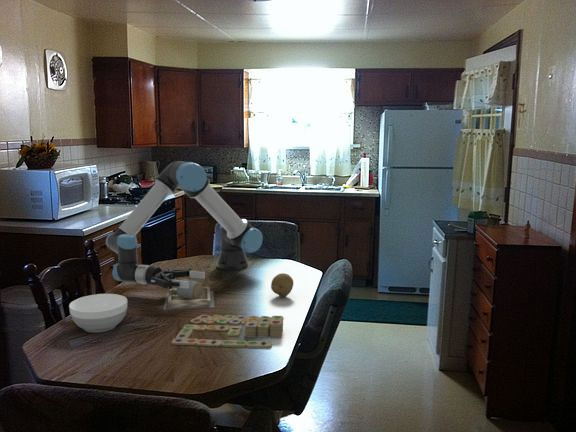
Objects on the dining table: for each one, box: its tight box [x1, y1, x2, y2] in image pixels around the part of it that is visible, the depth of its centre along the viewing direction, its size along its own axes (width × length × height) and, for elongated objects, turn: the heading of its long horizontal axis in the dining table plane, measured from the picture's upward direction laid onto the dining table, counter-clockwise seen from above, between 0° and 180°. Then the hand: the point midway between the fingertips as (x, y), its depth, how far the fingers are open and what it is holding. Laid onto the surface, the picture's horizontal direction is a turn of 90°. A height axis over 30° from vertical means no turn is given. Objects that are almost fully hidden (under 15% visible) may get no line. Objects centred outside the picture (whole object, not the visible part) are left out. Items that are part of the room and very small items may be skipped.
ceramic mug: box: [176, 278, 203, 300], centre depth 208 cm, size 11×8×8 cm
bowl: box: [68, 293, 128, 333], centre depth 180 cm, size 19×19×9 cm
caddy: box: [168, 286, 211, 308], centre depth 208 cm, size 16×16×2 cm
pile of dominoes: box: [170, 314, 284, 350], centre depth 178 cm, size 35×27×6 cm
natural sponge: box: [270, 272, 294, 298], centre depth 212 cm, size 9×9×10 cm
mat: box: [163, 290, 215, 311], centre depth 208 cm, size 19×20×1 cm
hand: (196, 280), depth 206 cm, fingers open, 13 cm apart
